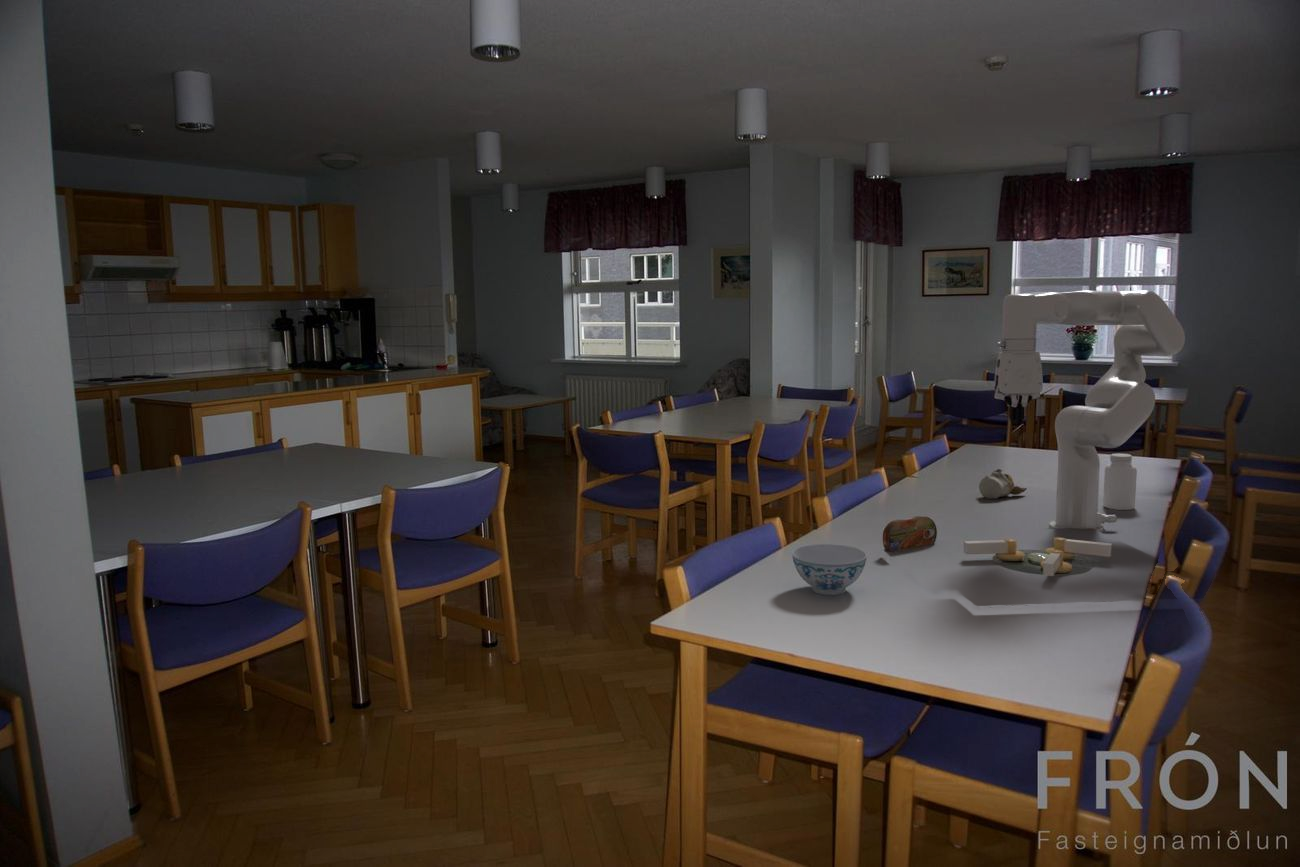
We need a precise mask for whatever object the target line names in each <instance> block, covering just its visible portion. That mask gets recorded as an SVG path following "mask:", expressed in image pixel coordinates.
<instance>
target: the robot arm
mask: <svg viewBox="0 0 1300 867" xmlns="http://www.w3.org/2000/svg"><path fill="white" fill-rule="evenodd" d="M1037 325H1064V326H1085V327H1086V326H1120V327H1119V328H1117V330H1116V332H1115V334H1114V337H1113V349H1114V350H1113V352H1114V355H1113V357H1114V358H1113V363H1112V365H1111V366H1110V368H1109V369H1108V371H1106V372H1105V373H1104V374H1103V375H1102V376H1101V377H1100V378H1099V379H1098V381H1097V382H1096V383H1095V384H1094V385H1093V386H1092V387H1091V388H1090V389H1089V390H1088V391H1087V394H1086V396H1085V399H1084V403H1085V405H1070V406H1067V407H1064V408H1063V409H1060V411H1059V412H1058V413H1057V415H1056V417H1055V421H1054V431H1055V435H1056V442H1057V443H1056V444H1057V451H1058V452H1057V474H1056V476H1057V477H1056V480H1057V481H1056V500H1055V501H1056V503H1055V504H1056V505H1055V507H1056V508H1055V520H1051V521H1050V522H1049V523H1048V528H1049V530H1054V529H1078V530H1083V529H1085V530H1087V529H1091V530H1094V531H1096V532H1099V533H1104V531H1105V528H1104V526H1103V525H1104V524H1105V523H1110V524H1111V523H1117V520H1118V518H1117V516H1116V514H1107V515H1106V514H1105V513H1102V512H1099V511H1098V509H1099V487H1100V483H1099V482H1100V468H1101V463H1100V462H1101V461H1100V456H1099V454H1098V451H1097V449H1096V448H1097V447H1098V448H1103V449H1115V448H1118V447H1120V446H1121V445H1123V444H1125V442H1127V441H1128V440H1129V439H1130V438H1131V437H1132V436H1133V435H1134V434H1135V432H1136V431H1137V430H1138V429H1139V428H1140V427H1141V426H1142V425H1143V424H1144V423H1145V422H1146V421H1147V420H1148V418H1150V416H1151V415H1152V412H1153V410H1154V408H1155V404H1156V394H1155V391H1154V389H1153V387H1152V386H1150V385H1149V384H1148V383H1146V382H1145V381H1146V376H1147V374H1146V369H1145V367H1144V364H1143V359H1142V356H1144V357H1145V356H1150V357H1171V356H1174V355H1177V354H1178V353H1179V352H1180V351H1182V349H1183V347H1184V345H1185V342H1186V337H1185V336H1186V335H1185V334H1186V333H1185V331H1184V328H1183V327H1182V324H1181V323H1180V321H1179V320H1178V319H1177V317H1176V316H1175V314H1174V313H1173V311H1172V310H1171V308H1170V307H1169V306H1168V304H1167V303H1166V302H1165V301H1164V300H1163V298H1162V297H1161V296H1160V295H1158V294H1157V293H1156V292H1154V291H1152V290H1149V289H1147V290H1076V291H1066V292H1053V291H1052V292H1051V291H1050V292H1048V291H1047V292H1025V293H1011V294H1007V295H1006V296H1005V297H1004V298H1003V301H1002V329H1001V330H1002V331H1001V333H1002V334H1001V340H1000V341H997V342H996V345H995V346H996V348H997V349H998V348H999V349H1000V351H1001V352H998V354H997V355H998V356H997V360H996V364H995V369H994V370H995V371H994V381H993V382H994V384H993V387H994V392H995V393H994V394H993V395H994V399H997V400H1002V401H1004V403H1006V405H1007V407H1008V409H1009V410H1008V411H1009V412H1008V418H1009V421H1010V423H1011V424H1019V425H1020V424H1023V423H1024V420H1025V408H1026V407H1028V404H1029V403H1030V402H1031V400H1036V399H1038V398H1040V397H1041V392H1042V391H1043V386H1044V385H1043V384H1044V382H1043V381H1044V380H1043V365H1042V359H1041V353H1040V351H1036V350H1037V327H1038V326H1037Z"/></svg>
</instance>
